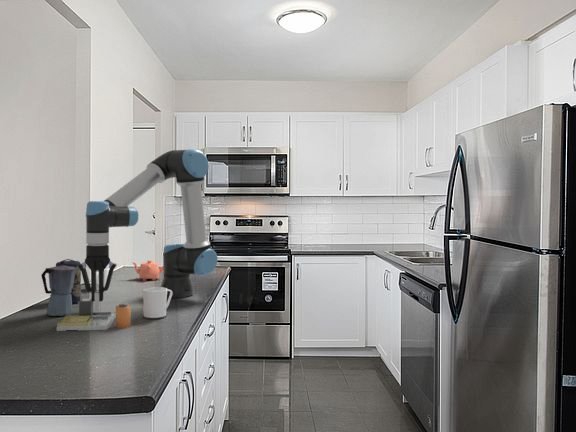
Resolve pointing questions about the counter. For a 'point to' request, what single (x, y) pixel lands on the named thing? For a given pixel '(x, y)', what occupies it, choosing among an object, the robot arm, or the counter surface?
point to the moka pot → (59, 289)
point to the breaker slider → (86, 307)
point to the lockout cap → (123, 316)
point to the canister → (77, 280)
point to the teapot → (148, 270)
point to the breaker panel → (86, 321)
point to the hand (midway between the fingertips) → (97, 310)
